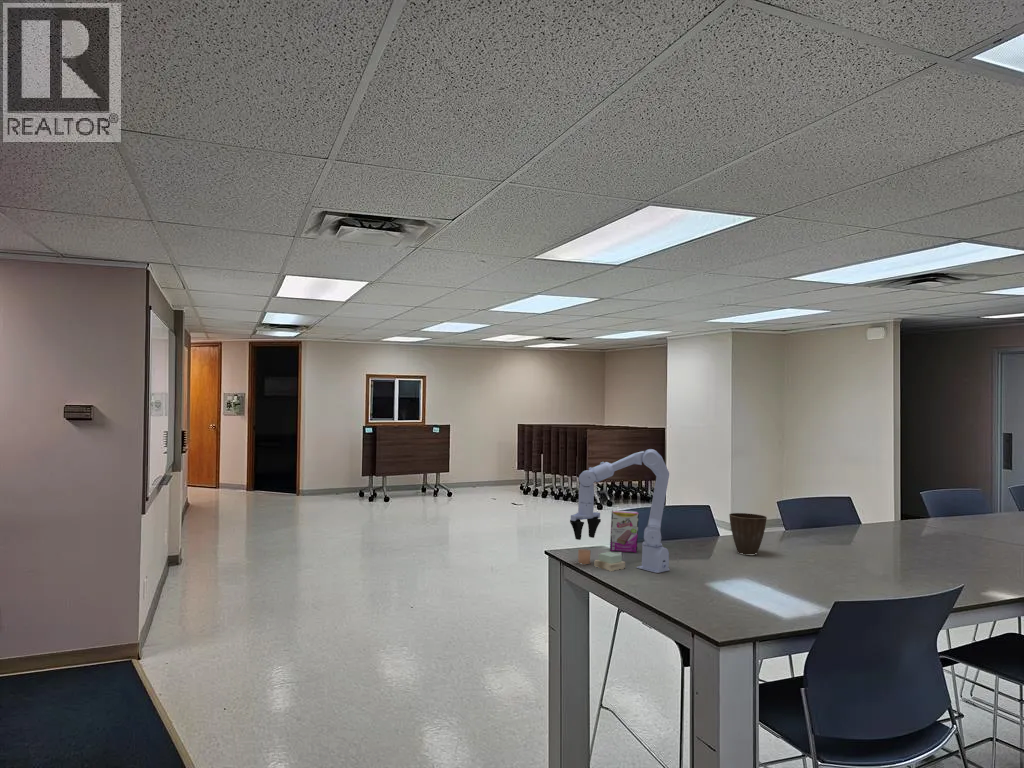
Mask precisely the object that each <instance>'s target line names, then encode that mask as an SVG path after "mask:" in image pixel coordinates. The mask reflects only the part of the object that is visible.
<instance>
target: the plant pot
mask: <svg viewBox="0 0 1024 768" xmlns="http://www.w3.org/2000/svg"><path fill="white" fill-rule="evenodd" d="M728 516H729V522H730V529H731V534H732V537H733V542H734V545H735V547H736V548H735V549H736V551H737V553H738V552H739V553H743V554H755V553H757V554H758V552H759V550H760V548H761V544H762V542H763V538H764V533H765V530H766V523H767V518H768V517H767V515H762V514H756V513H746V512H745V513H744V512H734V513H733V512H732V513H731V512H730V513H729V515H728ZM739 553H738V554H739Z"/></svg>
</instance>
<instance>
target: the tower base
mask: <svg viewBox="0 0 1024 768" xmlns="http://www.w3.org/2000/svg"><path fill="white" fill-rule="evenodd" d="M593 565H594V566H596V567H599V568H602V569H601V570H603V569H606V570H605V571H607V570H609V571H608V572H611V571H612V572H615V571H614V570H616V571H620V570H619V569H621V570H625V569H626V561H623V560H622V562H617V563H612V564H610V563H606V562H602V561H599V559H595V560H594V564H593ZM594 566H593V567H594ZM596 567H595V568H596ZM599 568H598V569H599ZM624 568H625V569H624Z"/></svg>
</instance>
